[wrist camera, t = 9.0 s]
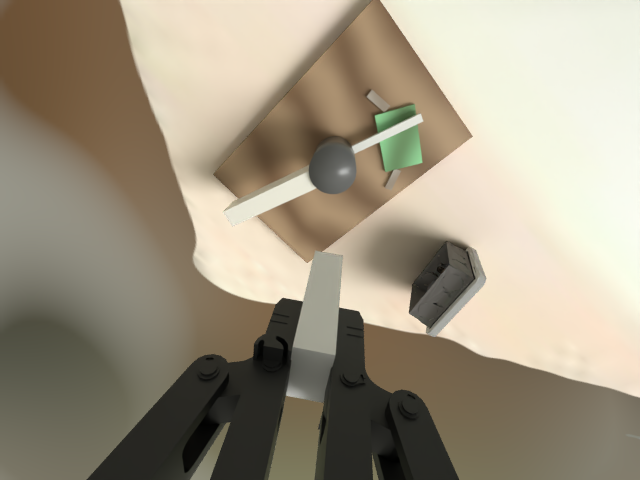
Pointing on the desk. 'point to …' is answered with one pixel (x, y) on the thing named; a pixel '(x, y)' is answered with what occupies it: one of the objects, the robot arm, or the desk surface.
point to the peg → (313, 174)
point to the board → (348, 132)
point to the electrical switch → (446, 286)
